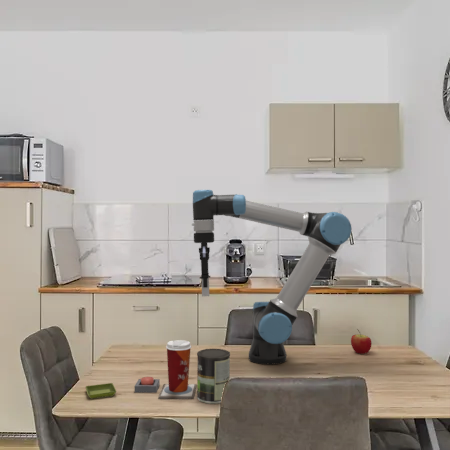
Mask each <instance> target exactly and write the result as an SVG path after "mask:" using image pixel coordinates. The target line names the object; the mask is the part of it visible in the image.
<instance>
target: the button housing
mask: <svg viewBox="0 0 450 450" xmlns="http://www.w3.org/2000/svg"><path fill="white" fill-rule="evenodd" d="M160 381H161V380H160V379H159V378H155V379H154V378H153V385H141V378H138V380H137V381H136V382H135V384H134V393H153V394H154V393H157V392H158V389H159V387H160Z"/></svg>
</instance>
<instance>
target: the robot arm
mask: <svg viewBox="0 0 450 450" xmlns="http://www.w3.org/2000/svg"><path fill="white" fill-rule="evenodd" d="M192 215H193V216H192V217H193V219H192V220H193V222H192V223H191V226H193V231H194V233H193V243H195V244H200V247H199V248H198V252H199V260H200V267H201V269H200V271H201V275H200V277H199V279H201V280H200V281H201V297H210V278H211V275H209V274H210V272H209V260H210V252H211V251H210V250H211V249H210V248H211V247H210V246H209V247H208V243H209V244H211V243H214V242H215V233H214V231H215V221H214V220H215V219H214V217H215V216H226V217H232V218H236V219H241V220H245V221H250V222H253V223H254V222H255V223H258V224H263V225H268V226H271V227H277V228H280V229H286V230H290V231H294V232H298V233H299V234H300V236H305V237H307V238H308V243H309V244H308V246H306V248H305V250H304V251H303V254H302V255H301V257H300V258H299V259H298V261H297V263H296V265H295V267H294V268H293V270H292V271H291V273H290V275H289V277H287V280H286V281H285V283H284V285H283V287H282V288H281V290H280V291H279V293H278V295H277V297H276V298H272V299H271V298H270V300H269V301H255V302H253V306H252V307H253V308H252V312H253V313H252V335H253V336H252V342H251V345H250V348H249V351H248V360H249V361H250V362H252V363H256V364H259V365H260V364H261V365H279V364H282V363H283V364H284V363H285V362H286V361H288V359H287V351H286V348H285V344H284V343H285V342H286V341H287V340H288V339H289V338H290V336H291V334H292V331H293V325H294V323H295V321H296V320H297V318H298V314H297V310H298V309H299V307H300V305H301V304H302V302H303V300H304V298H305V296H306V295H307V293H308V292H309V290H310V289H311V286H313V284H314V282H315V281H316V278H317V277H318V275H319V274H320V272H321V270H322V269H323V267H324V265H325V263H326V262H327V260H328V259H329V257H330V256H331V255H335V254H336V253H337V252H338V250H339V249H340V247H341V245H343V244H345V243H346V242H347V241H348V240H349V239H350V237H351V236H352V235H351V234H352V224H351V221H350V220H349V218H348V217H347V216H346V215H345V214H343V213H340V212H337V211H330V212H320V213H319V212H318V213H317V212H311V211H305V212H298V211H293V210H289V209H285V208H281V207H277V206H272V205H268V204H264V203H258V202H254V201H250V200H247V199H246V196H245V195H244V194H237V193H236V194H221V195H220V194H214V192H213V190H212V189H197V190H194V191H193V192H192Z"/></svg>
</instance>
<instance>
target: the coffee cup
mask: <svg viewBox="0 0 450 450" xmlns="http://www.w3.org/2000/svg"><path fill="white" fill-rule="evenodd" d="M165 348H166V359H167V377H168V379H167V380H168V381H167V382H168V384H169V390H170V391H172V392H184V391H186V390H187V389H188V384H189V377H190V375H189V372H190V363H191V362H190V361H191V360H190V359H191V349H192V345H191V342H190V341H188V340H185V339H177V340H173V339H172V340H170V341H168V342H167V343H166V345H165Z"/></svg>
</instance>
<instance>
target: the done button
mask: <svg viewBox="0 0 450 450" xmlns="http://www.w3.org/2000/svg"><path fill="white" fill-rule="evenodd" d="M140 379H141V385H153V379H154V377H153V376H144V377H141V378H140Z"/></svg>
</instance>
